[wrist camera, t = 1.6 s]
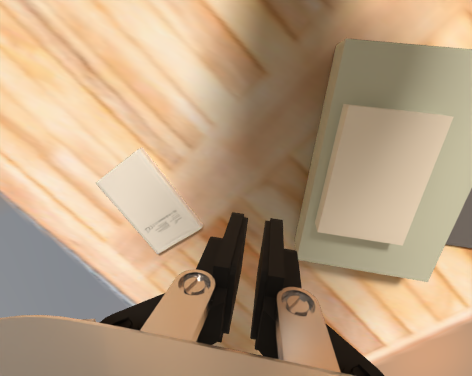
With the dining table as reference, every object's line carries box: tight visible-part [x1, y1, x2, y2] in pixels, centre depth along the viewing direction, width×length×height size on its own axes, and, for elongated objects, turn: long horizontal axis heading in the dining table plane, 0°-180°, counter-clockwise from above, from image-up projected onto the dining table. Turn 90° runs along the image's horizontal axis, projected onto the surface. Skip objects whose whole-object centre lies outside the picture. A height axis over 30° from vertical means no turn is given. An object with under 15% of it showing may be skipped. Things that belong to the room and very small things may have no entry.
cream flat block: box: [315, 104, 454, 246], centre depth 24 cm, size 12×8×2 cm, turn 174°
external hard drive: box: [96, 147, 203, 254], centre depth 34 cm, size 2×8×12 cm
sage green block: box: [294, 39, 472, 282], centre depth 27 cm, size 22×14×4 cm, turn 174°
